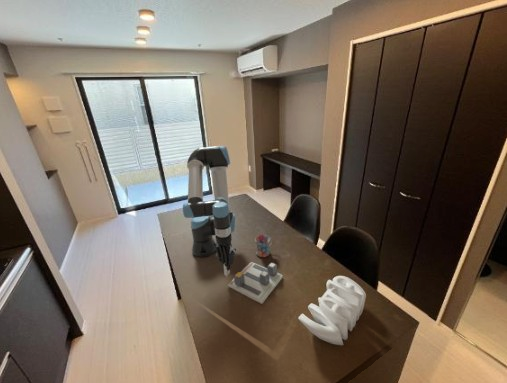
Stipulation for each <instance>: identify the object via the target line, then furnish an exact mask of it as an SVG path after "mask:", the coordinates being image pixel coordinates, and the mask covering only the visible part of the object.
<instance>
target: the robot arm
mask: <svg viewBox="0 0 507 383" xmlns="http://www.w3.org/2000/svg"><path fill="white" fill-rule="evenodd" d="M186 162H187V164H186V168H187V169H188V183H187V184H188V185H187V187H188V189H187V190H188V191H187V202H184V203H183V204H182V212H183V213H182V214H183V216H184V217H185V218H186V219H191V220H190V229H191V235H192V239H193V242H192V247H191V253H192V254H193V256H194V257H198V258H204V257H205V258H206V257H209V256H210V255H213V254H214V253H215V252H216V255H217V258H218V261H219V262H220V263H222V269H223V272H224V273H223V274H224V276H226V277H228V276H229V275H230V273H231V265H232V264H234V260H235V254H236V251H237V249H236V248H233V244H232V239H233V238H232V234H233V233H234V232H235V230H236V229H235V228H236V214H235V213H233V211H232V209H230V200H229V190H228V179H227V170H228V168H229V165H231V160H230V156H229V151H228V148H227V146H225V145H217V146H216V145H214V146H201V147H198V148H196V149H195V150H194V151H192V152H191V154H190V155H189V157H188V158H187V161H186ZM205 167H208V169H209V170H210V171H211V175H212V176H211V178H212V187H213V195H214V196H213V198H214V199H213V200H204V192H203V191H204V189H203V188H204V186H203V170H204V168H205ZM213 236H215V240H214V237H213Z"/></svg>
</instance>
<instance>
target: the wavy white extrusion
mask: <svg viewBox="0 0 507 383" xmlns="http://www.w3.org/2000/svg"><path fill="white" fill-rule="evenodd" d="M366 298H367V294H366V292H365V290H364V289H363V288H362V286H360V284H359V283H357V282H356V281H354V280H353V279H351V278H350V277H347V276H345V275H337V276H335V277H334V278H332V280H331V279H328V280H327V282H326V291H325V292H324V293H323V295H322V296H321V297H318V299H317V300H318V304H319V305H317V304H315V303H310V304H309V305H308V306H307V308H308V311H309V312H310V313H311V315H312V318H313V320H312V319H311V318H309V317H308V316H306V315H305V314H304V313H300V315H299V316H298V320H299V321H300V323H302V324H303V325H304V327H305V328H306V329H307V330H308V331H309V332H311V334H312V335H314V337H315V336H316V337H317V338H318V339H320V340H321V341H324V342H327V343H328V344H332V345H336V346H337V345H338V346H344V342H343V340H344V341H346V340H348V337H349V336H348V332H349V331H350V332H352V331H353V328H355V327H356V325H357V322H358V321H359V319H360V317H361V315H362V314H363V310H364V307H365V303H366Z"/></svg>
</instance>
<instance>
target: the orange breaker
mask: <svg viewBox="0 0 507 383" xmlns="http://www.w3.org/2000/svg"><path fill="white" fill-rule="evenodd" d="M240 272H241V271H240ZM240 272H239V271H238V272H237V273H236V274H234V275H233V279H234V281H235V284H236V285H238V286H239V287H241V286H242V285H243V284H244V283H245V280H244V274H242V273H240Z"/></svg>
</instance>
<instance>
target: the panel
mask: <svg viewBox="0 0 507 383" xmlns="http://www.w3.org/2000/svg"><path fill="white" fill-rule="evenodd" d="M240 273H242V274H244V280H245V283H244V284H243V285H242V286H241V287H239V286H238V285H236V284H235V281H234V278H233V279H232V280H231V281H229V283H228V287H229V288H231V289H233V290H234V291H237V292H238V293H240V294H242V295H244V296H246V297H248V298H249V299H251V300H253V301H255V302H257V303H259V304H264V302H265V301H266V300H267V298H268V296H269V295H270V294H271V293H272V292H273V290H274V289H275V288H276V287H277V285H278V284H279V283H280V281H282V279H283V274H281V273H279V272H278V264H276V263H274V262H270V263H269V264H268V265H267V267H265V266H263V265H260V264H257V263H255V262H253V261H251V262H249V263H248V264H247V265H246V266H245V267H244V268H243V269H242V270H241V271H240Z"/></svg>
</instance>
